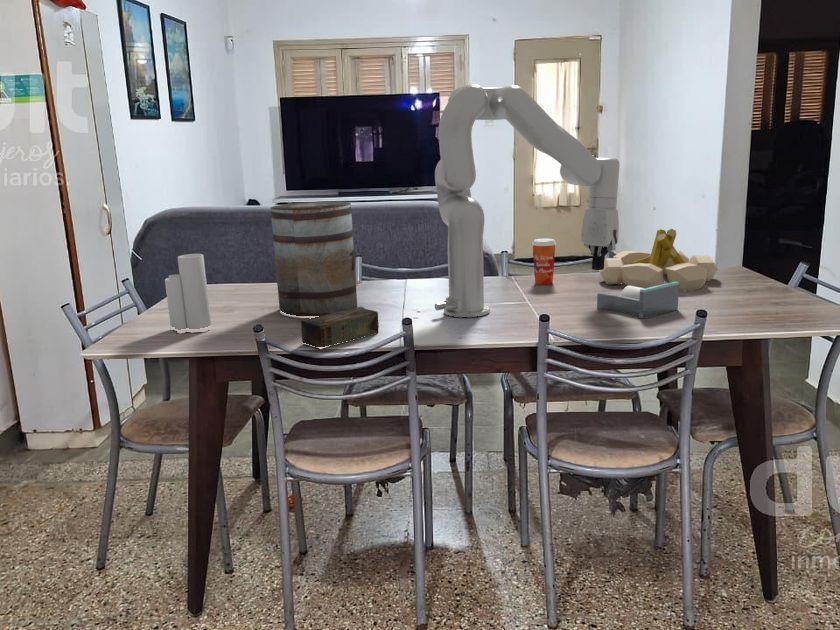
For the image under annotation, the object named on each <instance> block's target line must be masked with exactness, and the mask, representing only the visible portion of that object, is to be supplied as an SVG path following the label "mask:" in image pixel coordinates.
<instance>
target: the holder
mask: <svg viewBox="0 0 840 630" xmlns="http://www.w3.org/2000/svg"><path fill="white" fill-rule="evenodd" d="M679 291H680V290H679V282H671V283H669V282H667V283H664V284H662V285H657V286H653V287H648V288H644V289H640V300H639V299H634V298H629V297H624V296H621V295H619V294H611V293H610V294H609V293H600V292H599V293H597V295H596V298H597V299H596V309H597V308H599V309H598V310H607V309H610V310H609V311H615V310H616V312H620V311H621V312H620V313H624V312H625V313H624V314H628V313H630V315H633V314H634V315H633V316H637V315H639V316H638V319H640V318H645V319H647V318H646V317H649V318H651V317H650V316H653V317H655V316H654V315H657V316H659V315H658V314H660V315H663V313H664V314H667V312H668V313H671V311H672V312H676V311H679V310H678V309H679V308H678V307H679V294H680V293H679ZM675 310H676V311H675Z"/></svg>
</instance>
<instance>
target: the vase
mask: <svg viewBox="0 0 840 630" xmlns="http://www.w3.org/2000/svg"><path fill="white" fill-rule="evenodd" d="M204 257H205V256H204V254H202V253H189V254H181V255H178V256H177V265H178V271H179V274H170V275H168V277H166V278H165V279H164V285H165V291H166V298H167V299H166V301H167V306H168V307H167V308H168V315H169V324H170V327H171V326H172V327H175V329H178V330H181V329H186V328H189V329H200V328H205V327H208V326H210V325H211V326H212V319H211V317H212V316H211V310H210V309H211V308H210V302H209V293H208V292H209V291H208V285H207V276H206V267H205V258H204Z"/></svg>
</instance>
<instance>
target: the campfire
mask: <svg viewBox="0 0 840 630" xmlns="http://www.w3.org/2000/svg"><path fill="white" fill-rule="evenodd" d="M655 234H656V235H655V238H654V242H653V246H652V249H651V253H648V252H645V251H639V250H638V251H637V250H624V251H620V252H618V253H617V254H615V255H613V256H612V257H609V258H608V257H606V258H605V261H604V269H603V270H598V272H599V274H600V276H601V277H602V279H603V280H604V282H605V284H606V285H622V284H623V283H624V284H625V285H626V287H627V286H635V287H640V288H648V287H653V286H657V285H662V284H665V279H664V278H665V277H664V274H667V275H666V277H667V281H668V283H671V282H679V291H680V292H688V291H696V290H700V289H702V288H703V287H704V285H705V284H706V282H711V281H712V279H713V278H714V277H715V275H716V273H717V272H718V271H719V269H718V267H717V265H716V263H715V261H714V260H713V259H712V257H711V256H710V255H708V254H707V255H706V254H704V255H703V254H701V255H692V256H691V257H690V258H689V257H687V255H686V254H684V252H682V251H681V250H677V249H676V248H675V247H674V244H675V240H676V237H677V230H675V229H672V228H670V229H668V230H667V231H666V230H665V229H661V228H660V229H657V230H656V233H655ZM621 283H622V284H621Z"/></svg>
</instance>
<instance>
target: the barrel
mask: <svg viewBox="0 0 840 630" xmlns="http://www.w3.org/2000/svg"><path fill="white" fill-rule="evenodd" d="M269 208H270V217H271V228H272V229H271V230H272V242H273V252H274V262H275V263H274V264H275V273H276V283H277V284H276V285H277V295H278V296H277V298H278V304H279V305H278V307H279V311H280V310H281V311H282V312H284V313H286V314H290V315H296V316H324V315H328V314H332V313H337V312H341V311H346V310H351V309H355V308H357V307H358V296H357V282H356V281H357V280H356V279H357V277H356V262H355V250H354V249H355V248H354V233H353V232H354V231H353V217H352V216H353V215H352V204H351V202H349V201H347V202H346V201H309V202H295V203H286V204H280V205H274V206H272V207H271V206H270V207H269Z"/></svg>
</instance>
